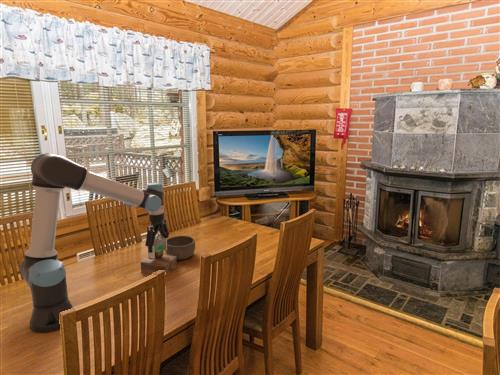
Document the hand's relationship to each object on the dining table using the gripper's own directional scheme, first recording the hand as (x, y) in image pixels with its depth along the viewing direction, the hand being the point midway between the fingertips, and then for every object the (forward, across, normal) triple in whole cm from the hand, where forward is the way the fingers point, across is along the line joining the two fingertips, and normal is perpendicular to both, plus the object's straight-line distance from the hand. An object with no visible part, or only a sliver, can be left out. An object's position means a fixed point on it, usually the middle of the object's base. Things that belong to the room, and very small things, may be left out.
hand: (158, 253), depth 175 cm
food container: (+2, 0, 0) cm, 2 cm away
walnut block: (+9, 0, 0) cm, 9 cm away
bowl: (+9, +19, -2) cm, 21 cm away
